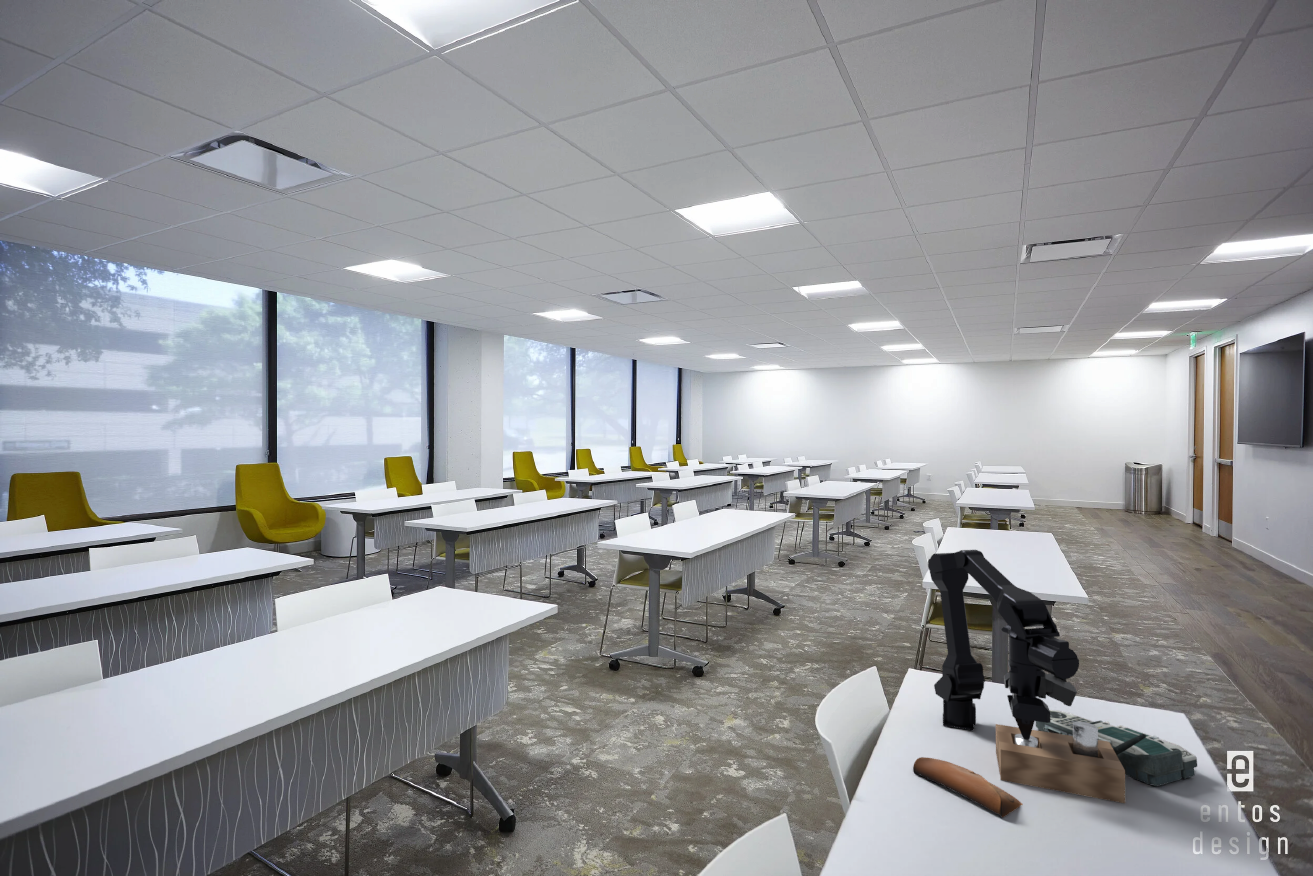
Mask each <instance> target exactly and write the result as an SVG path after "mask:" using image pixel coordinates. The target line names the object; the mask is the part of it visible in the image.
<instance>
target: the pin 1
mask: <svg viewBox="0 0 1313 876" xmlns="http://www.w3.org/2000/svg"><path fill="white" fill-rule="evenodd" d="M1015 744H1017V745H1023V746H1029V747H1035V748H1038V740H1037V739H1036V738H1035V737H1033V736H1031V735H1030V739H1024V738H1023V737H1022V734H1016V735H1015Z"/></svg>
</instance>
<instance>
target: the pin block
mask: <svg viewBox="0 0 1313 876" xmlns="http://www.w3.org/2000/svg"><path fill="white" fill-rule="evenodd" d="M1016 734H1021V732H1020V729H1019V727H1018V726H1017V727H1015V726H1010V725H1003V724H997V723H995V755H996V760H997V766H998V771H999V778H1000V781H1003V782H1008V783H1015V784H1020V785H1023V786H1024V785H1025V786H1031V787H1036V788H1042V789H1047V790H1052V791H1057V792H1062V793H1067V794H1073V795H1079V796H1083V797H1084V796H1085V797H1087V798H1088V797H1089V798H1094V799H1101V800H1106V801H1109V802H1110V801H1111V802H1116V803H1121V804H1126V775H1125V770H1124V768H1123V766H1122V764H1121V762H1120V761H1119V759H1118V757H1117V755H1116V753H1115V752H1114V750H1113V748H1112V746H1111V744H1110V743H1109V742H1108V741H1102V740H1098V758H1096V757H1090V756H1084V755H1078V754H1073V736H1069V735H1063V734H1057V733H1050V732H1044V731H1039V730H1038V729H1037V730H1035V729H1032V732H1031V736H1033V737H1035V738H1036V739H1037V740H1038V748H1035V747H1029V746H1023V745H1017V744H1015V735H1016Z"/></svg>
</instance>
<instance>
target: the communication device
mask: <svg viewBox="0 0 1313 876" xmlns="http://www.w3.org/2000/svg"><path fill="white" fill-rule="evenodd" d="M1049 710H1050V721H1051V722H1049V723H1045V722H1038V721H1035V722H1034V723H1035V727H1036V728H1037V730H1038V731H1044V732H1050V733H1057V734H1063V735H1069V736H1073V723H1074V722H1086V723H1090V724H1093V725H1095V726H1096V727H1097V728H1098V740H1102V741H1108V742H1109V743H1110V744H1111V746H1112V748H1113V750H1114V752H1115V753H1116V755H1117V757H1118V759H1119V761H1120V762H1121V764H1122V766H1123V768H1124V770H1125V776H1128V777H1130V778H1133V779H1135V780H1137V781H1139V782H1143V783H1144V784H1147V785H1152V786H1153V787H1158V786H1162V785H1166V784H1170V783H1173V782H1177V781H1180V780H1182V779H1189V778H1191V777H1194V776H1195V775H1196V774H1195V768H1197V767H1198V758H1197V756H1196V755H1195V754H1193V753H1192V752H1190V751H1189V750H1188V749H1186V748H1184V747H1183V746H1182V745H1179V744H1177V743H1174V742H1171V741H1168V740H1165V739H1162V738H1160V737H1159V736H1157V735H1150V734H1147V733H1146V732H1145V733H1144V732H1141V731H1139V730H1135V729H1133V728H1130V727H1128V726H1124V725H1116V726H1115V725H1112V724H1111V723H1110V722H1109V721H1103V720H1095V721H1093V720H1090V719H1088V718H1084V717H1082V716H1080V715H1078V714H1077V715H1076V714H1074V713H1070V712H1067V711H1062V710H1055V709H1049Z"/></svg>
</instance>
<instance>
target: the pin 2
mask: <svg viewBox="0 0 1313 876" xmlns="http://www.w3.org/2000/svg"><path fill="white" fill-rule="evenodd" d="M1073 754H1078V755H1084V756H1090V757H1096V758H1098V728H1097V727H1096V726H1095V725H1093V724H1090V723H1086V722H1074V723H1073Z"/></svg>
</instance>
